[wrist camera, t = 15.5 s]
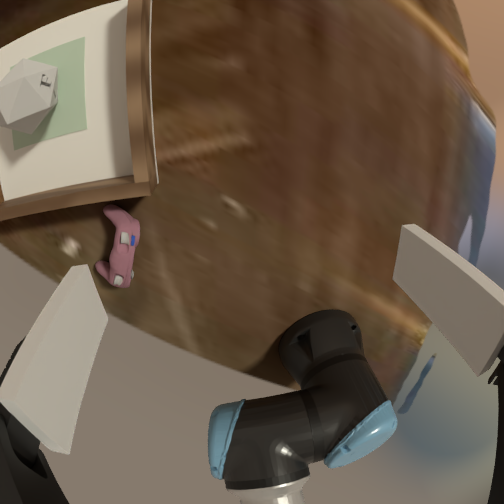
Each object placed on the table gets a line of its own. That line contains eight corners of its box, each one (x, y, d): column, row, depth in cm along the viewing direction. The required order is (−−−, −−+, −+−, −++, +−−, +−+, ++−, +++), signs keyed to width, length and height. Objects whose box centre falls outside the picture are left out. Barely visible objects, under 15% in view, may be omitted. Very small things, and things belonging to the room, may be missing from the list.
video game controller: (123, 266, 38) (135, 297, 34) (93, 265, 35) (101, 299, 31) (136, 202, 34) (150, 228, 30) (103, 200, 31) (111, 226, 27)
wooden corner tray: (158, 182, 32) (150, 195, 27) (9, 208, 29) (-10, 223, 24) (152, -4, 20) (143, -21, 16) (-4, 53, 17) (-26, 51, 13)
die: (53, 139, 26) (56, 111, 19) (-6, 145, 21) (-22, 119, 14) (61, 82, 25) (70, 43, 18) (5, 86, 20) (-2, 48, 12)
